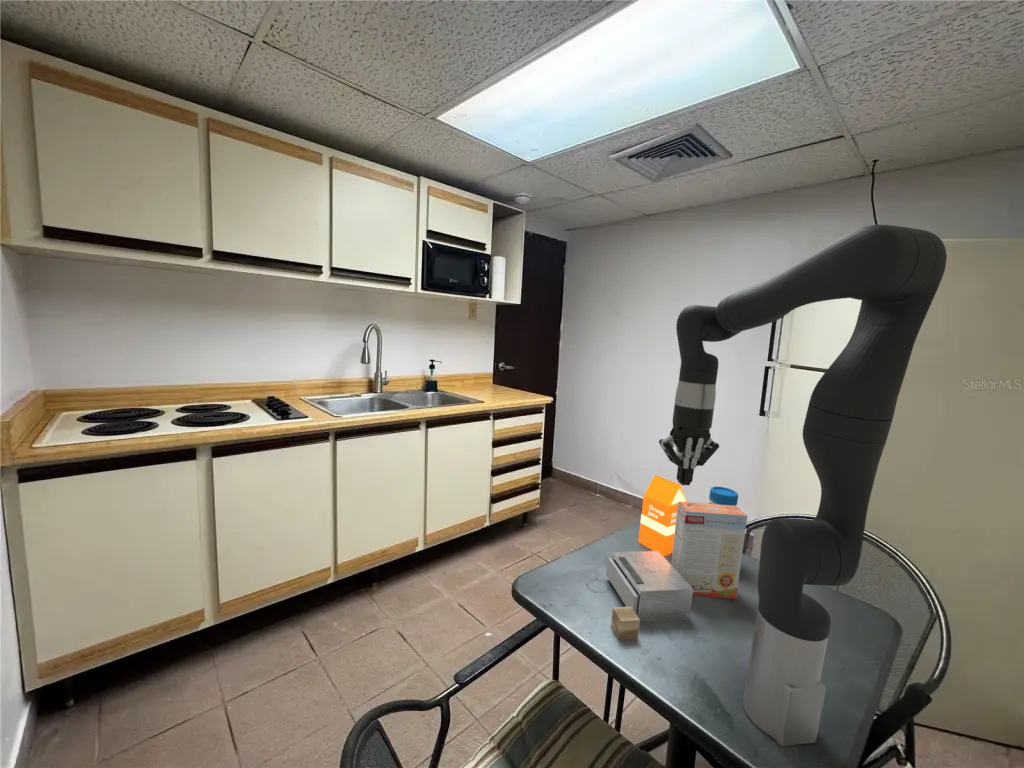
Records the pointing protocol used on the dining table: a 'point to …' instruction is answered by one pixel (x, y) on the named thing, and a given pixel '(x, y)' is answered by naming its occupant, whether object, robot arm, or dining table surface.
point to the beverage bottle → (723, 496)
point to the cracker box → (709, 547)
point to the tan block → (625, 623)
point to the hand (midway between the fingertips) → (683, 483)
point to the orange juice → (660, 514)
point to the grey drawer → (621, 585)
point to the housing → (655, 586)
